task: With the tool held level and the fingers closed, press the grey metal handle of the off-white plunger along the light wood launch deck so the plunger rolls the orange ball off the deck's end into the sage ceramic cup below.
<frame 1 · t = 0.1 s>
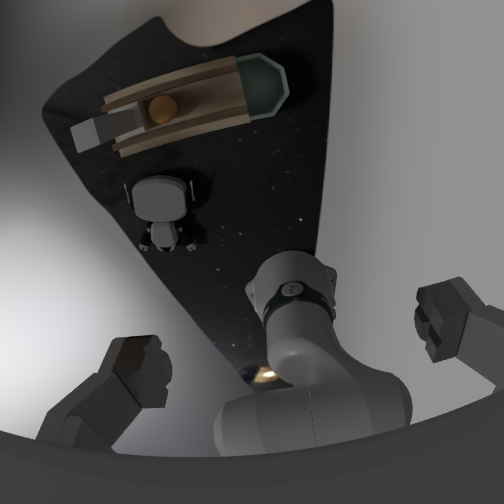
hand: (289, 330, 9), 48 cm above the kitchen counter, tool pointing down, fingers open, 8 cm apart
robot toy: (166, 210, 59), on the kitchen counter
cup: (253, 87, 48), on the kitchen counter
ball: (163, 109, 40), point 11 cm above the kitchen counter, touching launch deck
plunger: (115, 125, 36), point 17 cm above the kitchen counter, slide at 0.0 cm
launch deck: (185, 103, 50), on the kitchen counter
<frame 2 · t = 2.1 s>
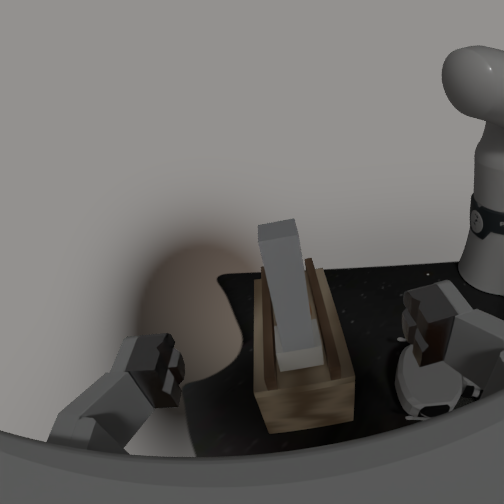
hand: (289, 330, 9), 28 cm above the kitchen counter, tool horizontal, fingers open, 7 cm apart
robot toy: (447, 389, 33), on the kitchen counter
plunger: (290, 300, 29), point 17 cm above the kitchen counter, slide at 0.0 cm
launch deck: (303, 367, 42), on the kitchen counter
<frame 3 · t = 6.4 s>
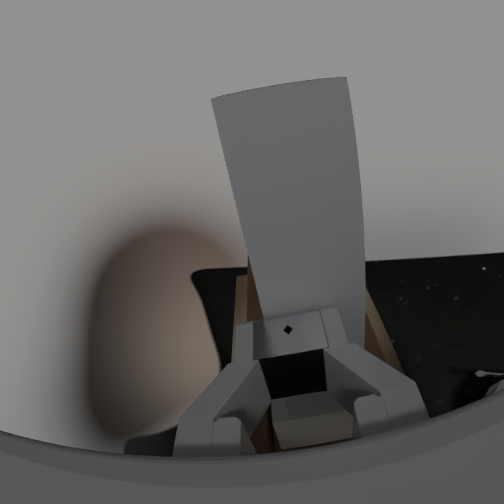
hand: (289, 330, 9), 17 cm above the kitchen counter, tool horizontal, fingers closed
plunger: (309, 301, 12), point 17 cm above the kitchen counter, slide at 1.4 cm, touching gripper
launch deck: (318, 422, 23), on the kitchen counter
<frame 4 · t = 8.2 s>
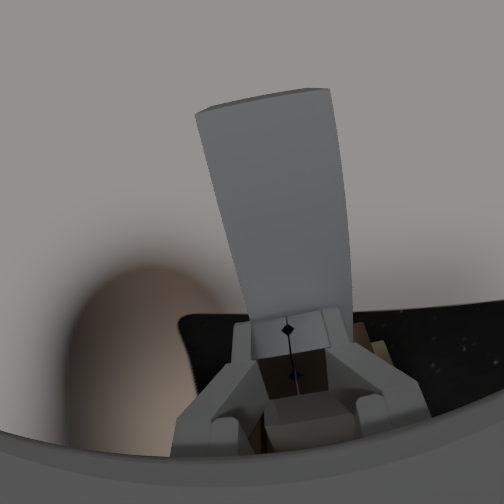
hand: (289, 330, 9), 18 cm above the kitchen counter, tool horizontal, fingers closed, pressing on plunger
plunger: (300, 309, 12), point 17 cm above the kitchen counter, slide at 11.4 cm, touching gripper
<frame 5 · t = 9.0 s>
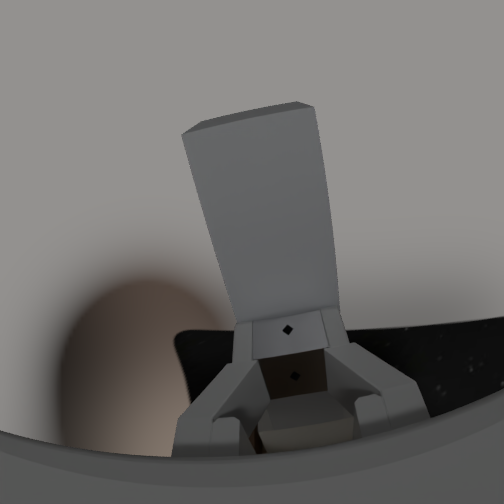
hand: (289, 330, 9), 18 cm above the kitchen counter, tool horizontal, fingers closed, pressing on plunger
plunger: (291, 318, 12), point 17 cm above the kitchen counter, slide at 13.7 cm, touching gripper
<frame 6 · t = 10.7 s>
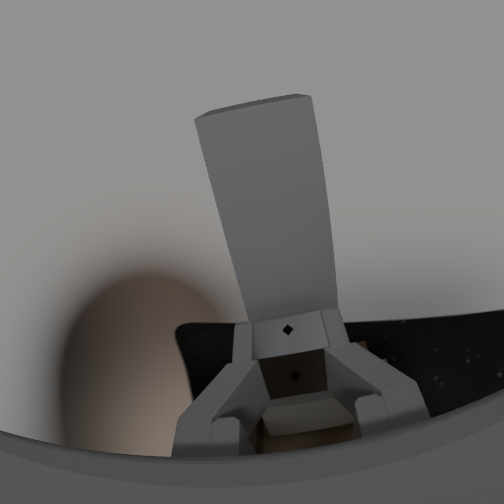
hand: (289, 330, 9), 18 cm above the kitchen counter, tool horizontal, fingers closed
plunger: (291, 296, 13), point 17 cm above the kitchen counter, slide at 13.9 cm
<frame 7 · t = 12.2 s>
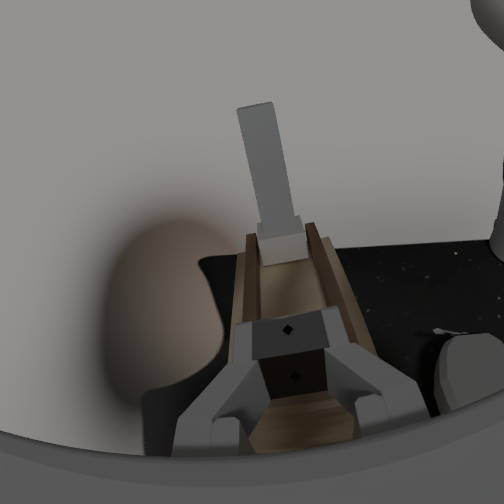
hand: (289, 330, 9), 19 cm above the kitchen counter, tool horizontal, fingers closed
robot toy: (499, 396, 21), on the kitchen counter
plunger: (271, 183, 30), point 17 cm above the kitchen counter, slide at 13.9 cm
launch deck: (304, 371, 30), on the kitchen counter
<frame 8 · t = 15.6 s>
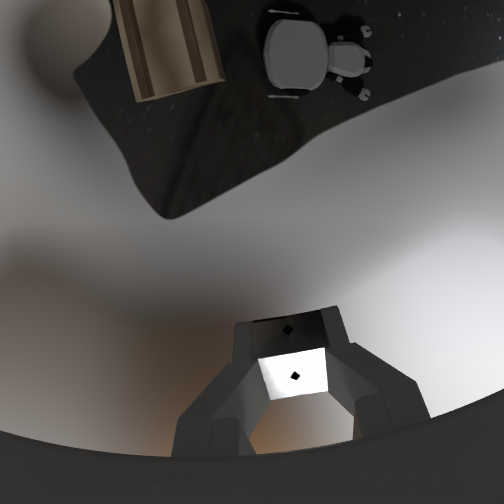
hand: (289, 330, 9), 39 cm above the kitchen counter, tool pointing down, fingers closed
robot toy: (316, 58, 39), on the kitchen counter
launch deck: (175, 26, 36), on the kitchen counter
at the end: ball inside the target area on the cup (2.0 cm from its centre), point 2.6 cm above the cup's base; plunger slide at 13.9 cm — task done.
